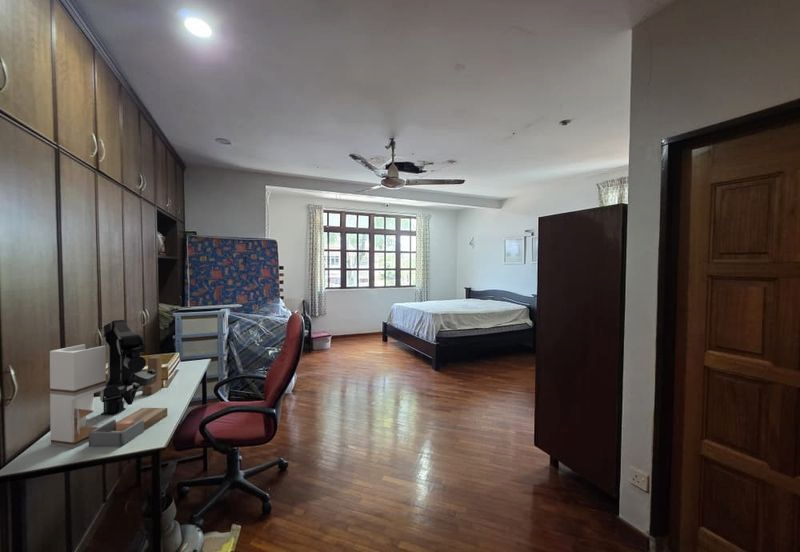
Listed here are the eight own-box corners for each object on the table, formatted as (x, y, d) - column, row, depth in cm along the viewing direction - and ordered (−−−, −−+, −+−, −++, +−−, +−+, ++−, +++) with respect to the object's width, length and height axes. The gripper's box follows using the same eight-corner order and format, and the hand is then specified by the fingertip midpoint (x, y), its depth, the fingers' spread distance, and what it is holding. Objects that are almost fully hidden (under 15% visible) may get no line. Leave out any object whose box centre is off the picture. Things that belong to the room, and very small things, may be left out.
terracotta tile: (120, 433, 135) (115, 436, 132) (120, 420, 135) (115, 423, 132) (134, 433, 135) (129, 436, 133) (133, 420, 135) (129, 423, 133)
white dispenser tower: (74, 448, 124) (73, 352, 123) (50, 445, 126) (49, 351, 125) (106, 433, 136) (105, 345, 135) (84, 430, 137) (83, 344, 137)
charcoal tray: (88, 446, 126) (88, 433, 125) (113, 432, 137) (113, 419, 136) (121, 446, 126) (121, 433, 126) (143, 432, 137) (143, 419, 137)
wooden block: (151, 395, 176) (151, 360, 175) (142, 395, 175) (141, 360, 175) (161, 389, 185) (161, 355, 184) (152, 389, 184) (152, 356, 184)
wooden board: (114, 431, 137) (114, 423, 137) (142, 415, 152) (142, 407, 152) (142, 431, 137) (142, 423, 137) (167, 415, 152) (167, 407, 152)
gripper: (132, 373, 128) (132, 414, 128) (165, 360, 146) (165, 396, 147) (102, 373, 128) (102, 414, 128) (139, 359, 146) (139, 395, 147)
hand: (129, 404), depth 137 cm, fingers closed
